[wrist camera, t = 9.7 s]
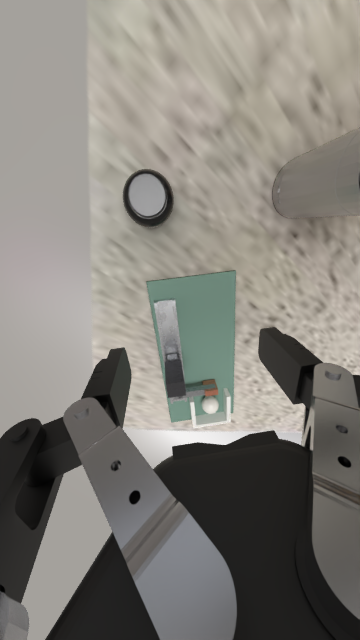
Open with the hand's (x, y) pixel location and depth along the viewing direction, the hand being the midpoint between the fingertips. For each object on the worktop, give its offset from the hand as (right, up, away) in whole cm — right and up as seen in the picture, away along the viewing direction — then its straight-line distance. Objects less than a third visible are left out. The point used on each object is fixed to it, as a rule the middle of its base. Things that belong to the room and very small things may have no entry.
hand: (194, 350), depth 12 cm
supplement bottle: (-6, +22, +23) cm, 32 cm away
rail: (-3, -6, +36) cm, 37 cm away
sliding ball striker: (+2, -10, +38) cm, 39 cm away
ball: (+7, -20, +41) cm, 46 cm away
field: (+4, -8, +38) cm, 39 cm away
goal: (+7, -21, +44) cm, 50 cm away
